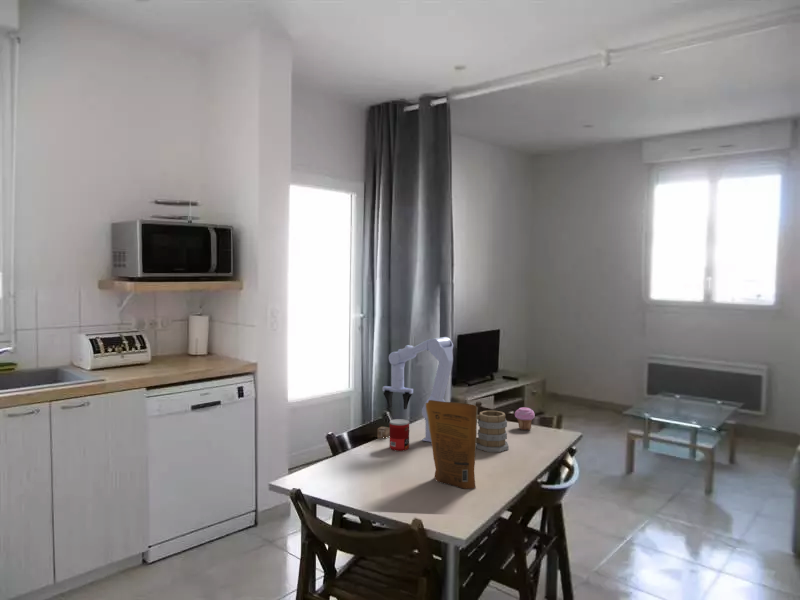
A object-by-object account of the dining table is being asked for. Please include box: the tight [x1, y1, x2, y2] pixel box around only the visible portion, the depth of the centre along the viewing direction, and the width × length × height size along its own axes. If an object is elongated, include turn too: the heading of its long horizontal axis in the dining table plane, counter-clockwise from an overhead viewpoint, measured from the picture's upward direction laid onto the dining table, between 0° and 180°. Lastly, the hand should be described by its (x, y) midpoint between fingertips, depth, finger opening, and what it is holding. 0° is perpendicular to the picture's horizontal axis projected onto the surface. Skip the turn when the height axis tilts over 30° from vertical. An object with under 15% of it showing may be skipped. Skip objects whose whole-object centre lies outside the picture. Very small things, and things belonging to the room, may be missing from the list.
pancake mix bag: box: [425, 400, 479, 490], centre depth 186 cm, size 7×19×28 cm, turn 51°
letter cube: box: [376, 426, 390, 439], centre depth 242 cm, size 4×4×4 cm
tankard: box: [476, 410, 509, 453], centre depth 227 cm, size 20×13×15 cm, turn 84°
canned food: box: [389, 418, 410, 452], centre depth 225 cm, size 8×8×11 cm
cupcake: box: [514, 406, 536, 431], centre depth 255 cm, size 9×9×10 cm
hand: (397, 408), depth 251 cm, fingers open, 7 cm apart
